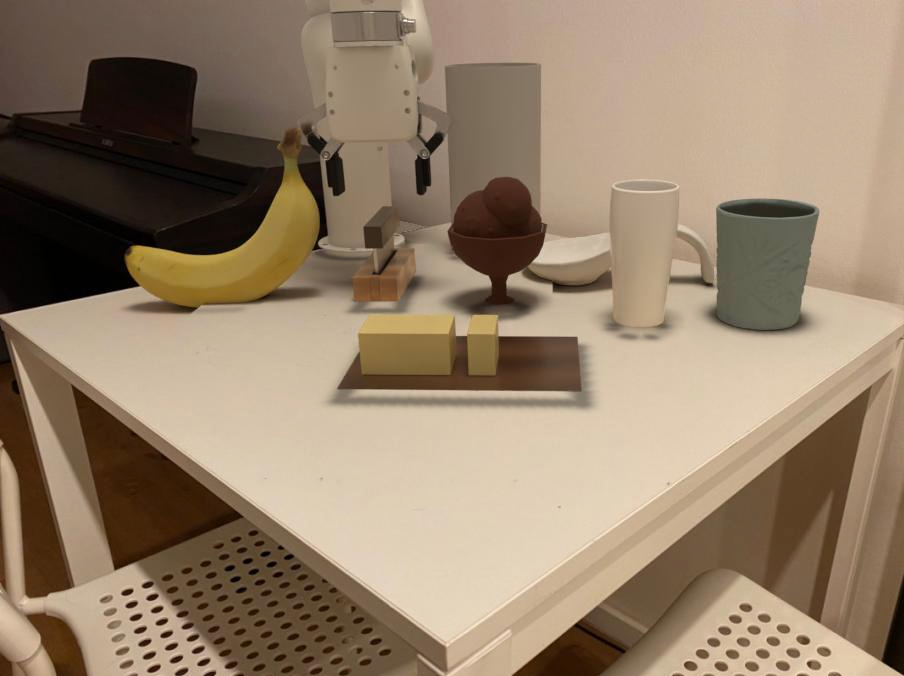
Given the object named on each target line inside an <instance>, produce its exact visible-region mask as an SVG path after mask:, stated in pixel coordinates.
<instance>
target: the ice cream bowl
mask: <svg viewBox="0 0 904 676" xmlns="http://www.w3.org/2000/svg"><path fill="white" fill-rule="evenodd" d="M450 225H451V224H450ZM547 228H548V224H547V223H545V222H543V221H542V216H541V213H540V214H539V212H538V211H537V210H536V209H535V208H534V207H533V206H532V199H531V194H530V192H529V190H528V188H527V187H526V186H525V185H524V184H523V183H522V182H521V181H520V180H519V179H516V178H512V177H499V178H494V179H492V180H491V181H490V182H489V183H488V185H487V186H486V187H485V189H484V190H479V191H475V192H473V193H471V194H469V195H467V196H466V198H465V199H464V200H463V201H462V202H461V203H460V205H459V206H458V207H457V210H456V213H455V215H454V221H453V224H452V225H451V226H449V228H448V229H447V231H446V233H447V235H448V240H449V245H450V246H451V248H453V249H452V251H453V252H454V255H455V256H456V257H457V258H458V259H460V260H461V261H462V262H463V263H464V264H465V265H466V266H468V267H469V268H470V269H472V270H474V271H476V272H478V273H480V274H482V275H484V276H488V278H489V281H490V282H491V294H490V295H489V296H487V297H486V298H485V299H484V301H483V302H484V303H485V304H488V305H491V306H506V305H509V304H513V303H514V302H515V298H513V297H511V296H510V295H508V288H507V282H508V278H509V277H510V276H512V275H514V274H517V273H520V272H522V271H523V270H525V269H526V268H527V267H528V266H529V265H530V264H531V263H532V262H533V261H534V260H535V259H536V258H537V257H538V256H539V253H540V251H541V249H542V247H543V244H544V242H545V239H546V233H547Z"/></svg>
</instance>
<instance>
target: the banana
mask: <svg viewBox="0 0 904 676" xmlns="http://www.w3.org/2000/svg"><path fill="white" fill-rule="evenodd" d="M302 135H303V133H302V130H301V129H300V128H299V126H293V127H287V128H286V129H285V131H284V134H283V139H282V141H280V142H279V143H278V144H277V147H276V149H277V150H279V151H280V152H281V154H282V156H283V160H284V170H283V175H282V181H281V185H280V187H279V188H278V191H277V192H276V194H275V196H274V198H273V200H272V203H271V204H270V207H269V208H268V210H267V212H266V215H265V218H264V219H263V221H262V222H261V224H260V226H259V227H258V229H257V230H256V231H255V233H254V234H253V235H252V236H251V237H250V238H249V239H248V240H246V242H244V243H243V244H242V245H240V246H238V247H237V248H235V249H232V250H229V251H226V252H222V253H217V254H206V255H203V254H202V255H201V254H188V253H181V252H177V251H173V250H168V249H164V248H163V249H162V248H157V247H151V246H145V245H131V246H129V247H128V248H127V249H126V251H125V253H124V262H125V265H126V268H127V270H128V272H129V274H130V275H131V277H132V278H133V280H134V281H135V282H136V283H137V284H138V285H139V286H140V287H141V288H142V289H144V290H145V291H146V292H148V293H149V294H151V295H152V296H154V297H156V298H158V299H160V300H163V301H165V302H168V303H171V304H175V305H178V306H181V307H189V308H198V309H199V308H200V307H202V306H203V305H204V304H229V303H230V304H231V303H232V304H233V303H247V302H248V303H249V302H253V301H256V300H259V299H261V298H263V297H265V296H267V295H269V294H270V293H273V292H274V291H275V290H277V289H278V288H279V287H280V286H282V285H283V284H284V283H285V282H286V281H288V280H289V279H290V278H291V277H292V276H293V275H294V274H295V273H296V272H298V270H299V269H300V268H301V267H302V266H303V264H304V263H305V262H306V261H307V259H308V258H309V256H310V255H311V253H312V252H313V250H314V247H315V245H316V242H317V240H318V236H319V233H320V225H321V223H320V222H321V221H320V219H321V218H320V211H319V208H318V203H317V202H316V200H315V197H314V195H313V194H312V191H311V190H310V189H309V188H308V186H307V185H306V183H305V182H304V179H303V178H302V176H301V173H300V170H299V166H298V157H299V154H300V152H301V150H302V149H303V147H302V137H303V136H302Z"/></svg>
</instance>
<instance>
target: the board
mask: <svg viewBox="0 0 904 676" xmlns="http://www.w3.org/2000/svg"><path fill="white" fill-rule="evenodd" d="M456 351H457V355H456V358H455V361H454V365H453V368H452V371H451V375H362V372H361V361H360V350H359V351H358V353H357V354H356V356H355V358H354V359H353V361H352V362H351V364H350V366H349V367H348V369H347V370H346V373H345V374H344V376H343V378H342V380H341V381H340V383H339V384H338V386H337V388H336V390H378V391H379V390H380V391H381V390H385V391H387V390H388V391H471V392H472V391H474V392H475V391H478V392H479V391H482V392H484V391H488V392H490V391H491V392H574V393H575V392H579V393H580V392H581V393H582V390H583V389H582V378H581V377H582V376H581V365H580V363H581V362H580V352H579V351H580V350H579V337H578V336H554V335H553V336H552V335H551V336H547V335H546V336H545V335H544V336H540V335H538V336H537V335H536V336H534V335H533V336H531V335H530V336H529V335H499V357H498V363H497V369H496V375H495V376H475V375H469V373H468V346H467V335H456Z"/></svg>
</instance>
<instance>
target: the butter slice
mask: <svg viewBox="0 0 904 676" xmlns="http://www.w3.org/2000/svg"><path fill="white" fill-rule="evenodd" d="M466 333H467V334H466V336H467V346H468V373H469V375H475V376H495V375H496V369H497V363H498V357H499V336H500V335H499V315H498V314H472V315H471V318H470V322H469V326H468V330H467V332H466Z"/></svg>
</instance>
